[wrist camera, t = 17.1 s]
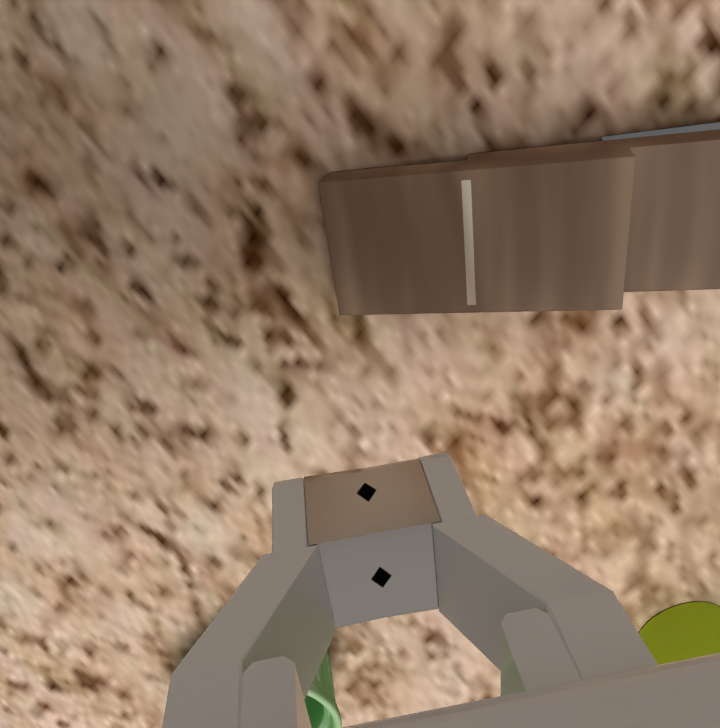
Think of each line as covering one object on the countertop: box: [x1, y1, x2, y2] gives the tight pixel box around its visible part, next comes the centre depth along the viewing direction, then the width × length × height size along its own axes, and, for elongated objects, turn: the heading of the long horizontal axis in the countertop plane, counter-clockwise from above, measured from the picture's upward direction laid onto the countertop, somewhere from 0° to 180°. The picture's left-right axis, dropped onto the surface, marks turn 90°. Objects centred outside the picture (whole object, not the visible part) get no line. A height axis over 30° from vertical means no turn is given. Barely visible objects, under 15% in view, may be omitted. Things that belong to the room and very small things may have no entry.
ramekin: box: [304, 652, 342, 728], centre depth 32 cm, size 9×9×4 cm
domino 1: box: [318, 146, 635, 315], centre depth 21 cm, size 2×5×10 cm
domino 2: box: [467, 129, 720, 292], centre depth 21 cm, size 2×5×10 cm
